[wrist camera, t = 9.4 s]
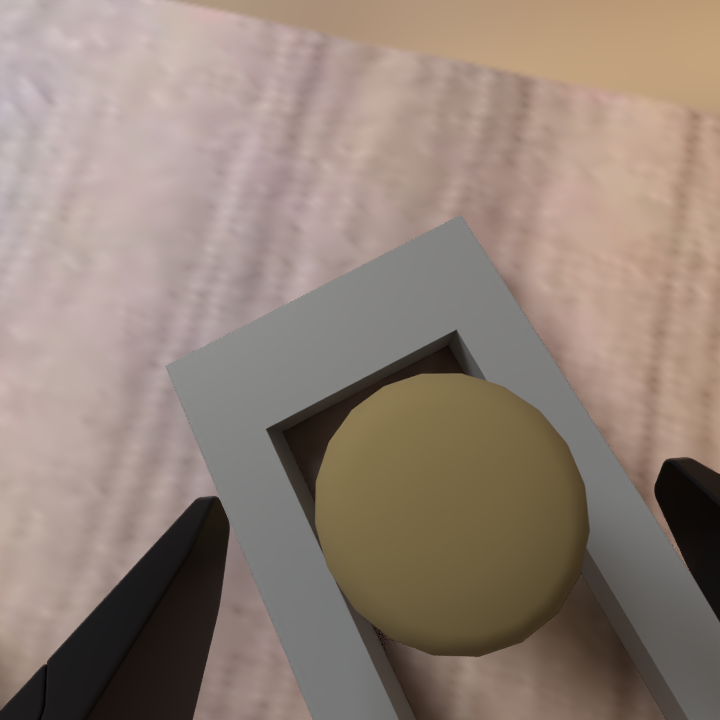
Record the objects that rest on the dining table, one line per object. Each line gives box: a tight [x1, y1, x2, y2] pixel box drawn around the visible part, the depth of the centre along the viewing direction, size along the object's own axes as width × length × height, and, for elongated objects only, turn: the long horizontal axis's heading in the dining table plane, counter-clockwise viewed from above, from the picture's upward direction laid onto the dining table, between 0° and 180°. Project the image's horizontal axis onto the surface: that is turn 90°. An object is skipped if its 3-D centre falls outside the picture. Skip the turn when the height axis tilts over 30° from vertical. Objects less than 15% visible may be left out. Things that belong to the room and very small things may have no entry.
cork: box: [315, 373, 590, 657], centre depth 12 cm, size 6×6×11 cm
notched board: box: [165, 215, 720, 720], centre depth 16 cm, size 20×13×2 cm, turn 27°
